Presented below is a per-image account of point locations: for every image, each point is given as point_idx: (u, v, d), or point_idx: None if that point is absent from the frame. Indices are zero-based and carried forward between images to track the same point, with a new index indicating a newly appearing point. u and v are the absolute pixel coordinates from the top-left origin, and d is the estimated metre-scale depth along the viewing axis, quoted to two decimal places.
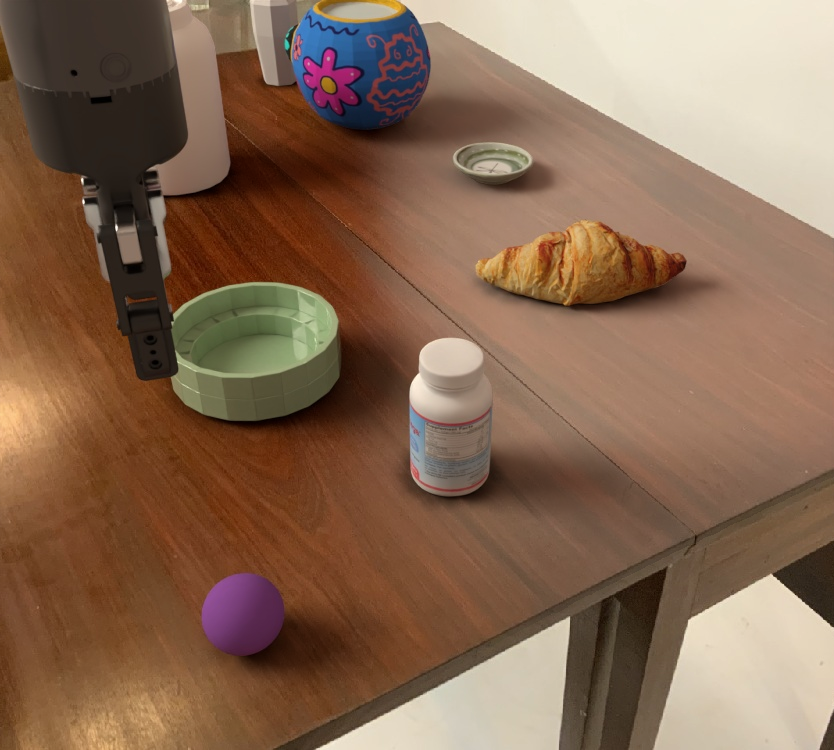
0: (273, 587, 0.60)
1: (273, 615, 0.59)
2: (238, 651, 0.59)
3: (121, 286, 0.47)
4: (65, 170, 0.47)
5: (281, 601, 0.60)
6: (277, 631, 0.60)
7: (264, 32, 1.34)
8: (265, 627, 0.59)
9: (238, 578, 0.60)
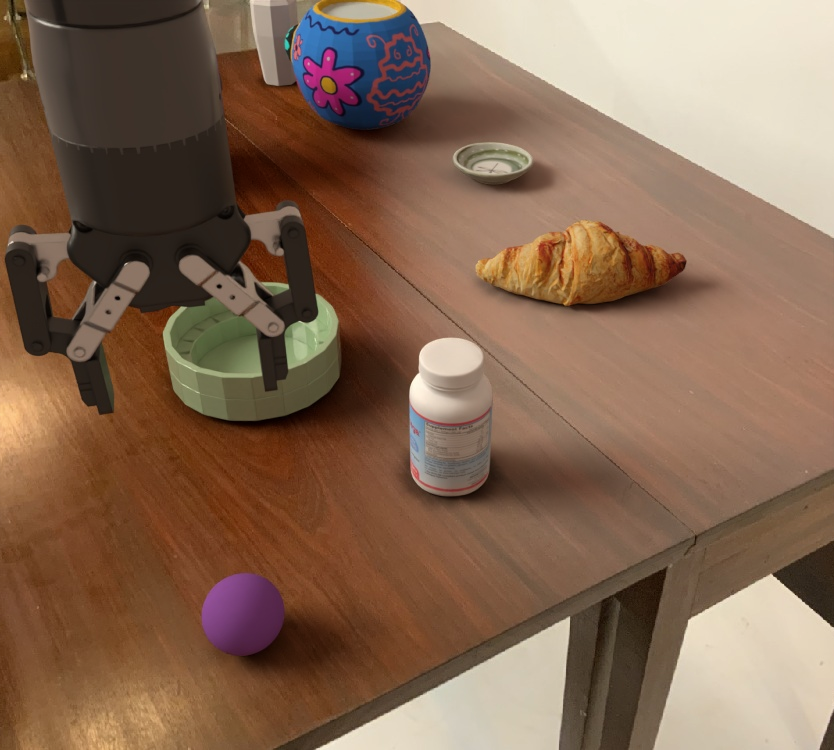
0: (273, 587, 0.60)
1: (273, 615, 0.59)
2: (238, 651, 0.59)
3: None
4: (219, 211, 0.45)
5: (281, 601, 0.60)
6: (277, 631, 0.60)
7: (264, 32, 1.34)
8: (265, 627, 0.59)
9: (238, 578, 0.60)
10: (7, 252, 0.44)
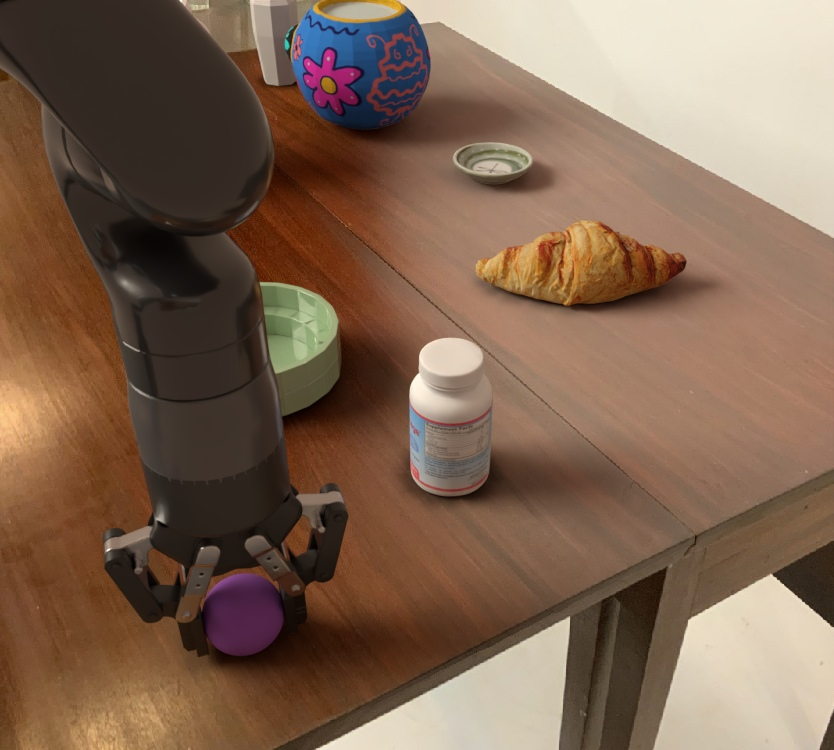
0: (273, 587, 0.60)
1: (273, 615, 0.59)
2: (238, 651, 0.59)
3: None
4: (280, 504, 0.53)
5: (281, 601, 0.60)
6: (277, 631, 0.60)
7: (264, 32, 1.34)
8: (265, 627, 0.59)
9: (238, 578, 0.60)
10: (105, 563, 0.53)
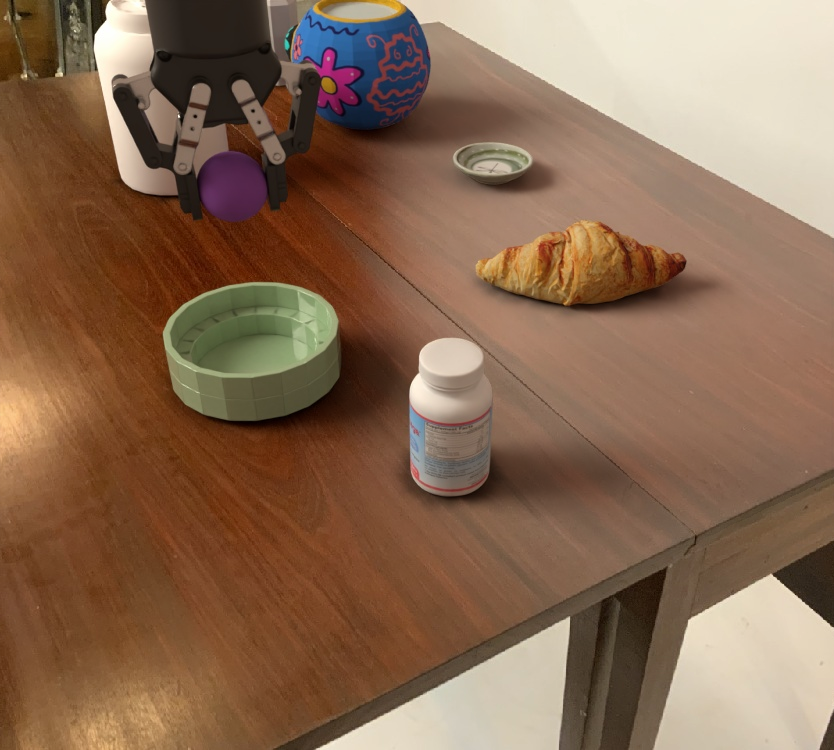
0: None
1: (257, 180, 0.69)
2: (227, 208, 0.68)
3: None
4: (261, 44, 0.63)
5: (265, 175, 0.70)
6: (261, 198, 0.69)
7: None
8: (251, 188, 0.68)
9: (228, 151, 0.69)
10: (113, 92, 0.62)
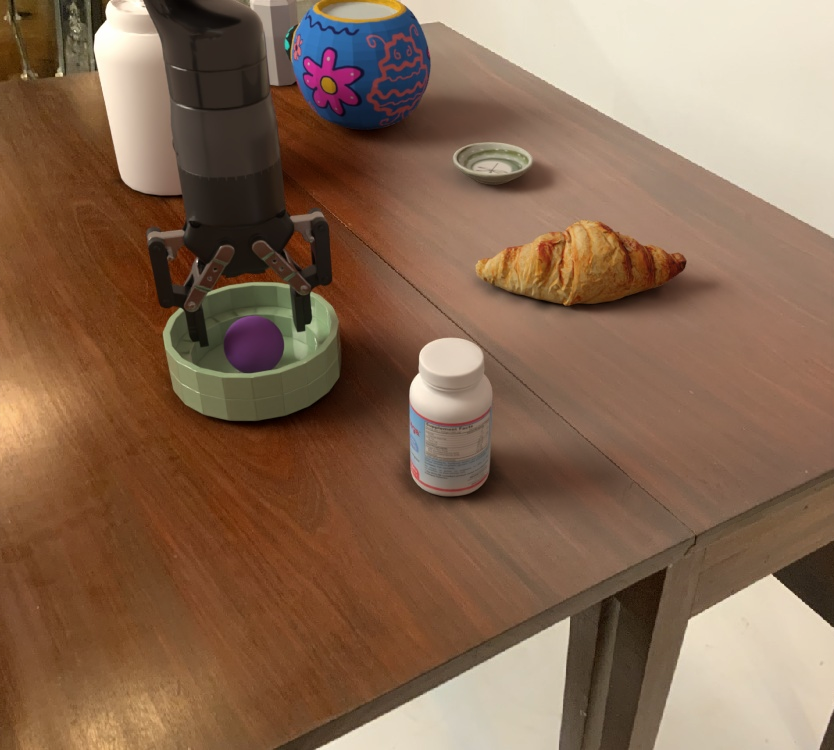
0: None
1: (275, 342, 0.81)
2: (250, 366, 0.81)
3: None
4: (278, 213, 0.74)
5: (282, 336, 0.82)
6: (279, 356, 0.82)
7: None
8: (270, 349, 0.81)
9: (250, 316, 0.82)
10: (149, 244, 0.73)
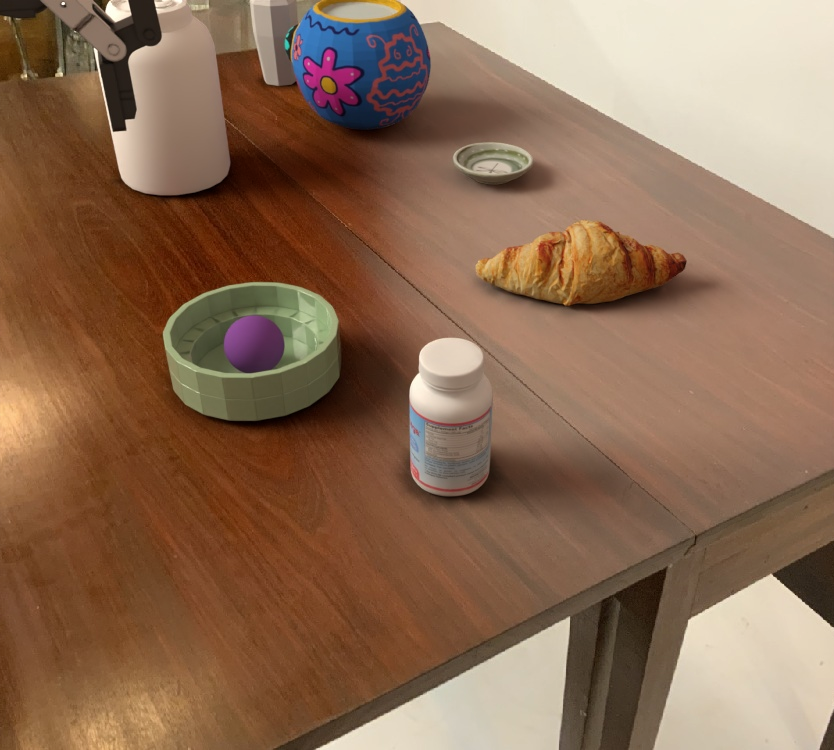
0: (276, 325, 0.82)
1: (276, 341, 0.81)
2: (250, 365, 0.81)
3: None
4: None
5: (282, 335, 0.82)
6: (279, 356, 0.82)
7: (264, 32, 1.34)
8: (271, 349, 0.81)
9: (251, 316, 0.82)
10: None
